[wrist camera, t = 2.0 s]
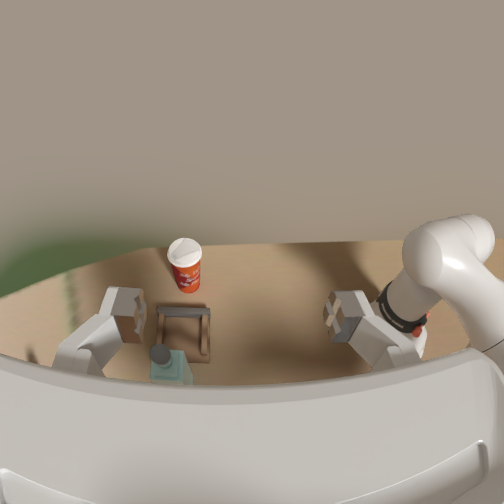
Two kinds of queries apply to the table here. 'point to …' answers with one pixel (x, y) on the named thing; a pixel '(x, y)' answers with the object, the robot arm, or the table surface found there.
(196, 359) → the brown square frame
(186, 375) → the bottle
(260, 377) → the table surface
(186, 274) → the paper cup
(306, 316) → the table surface
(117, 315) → the robot arm
